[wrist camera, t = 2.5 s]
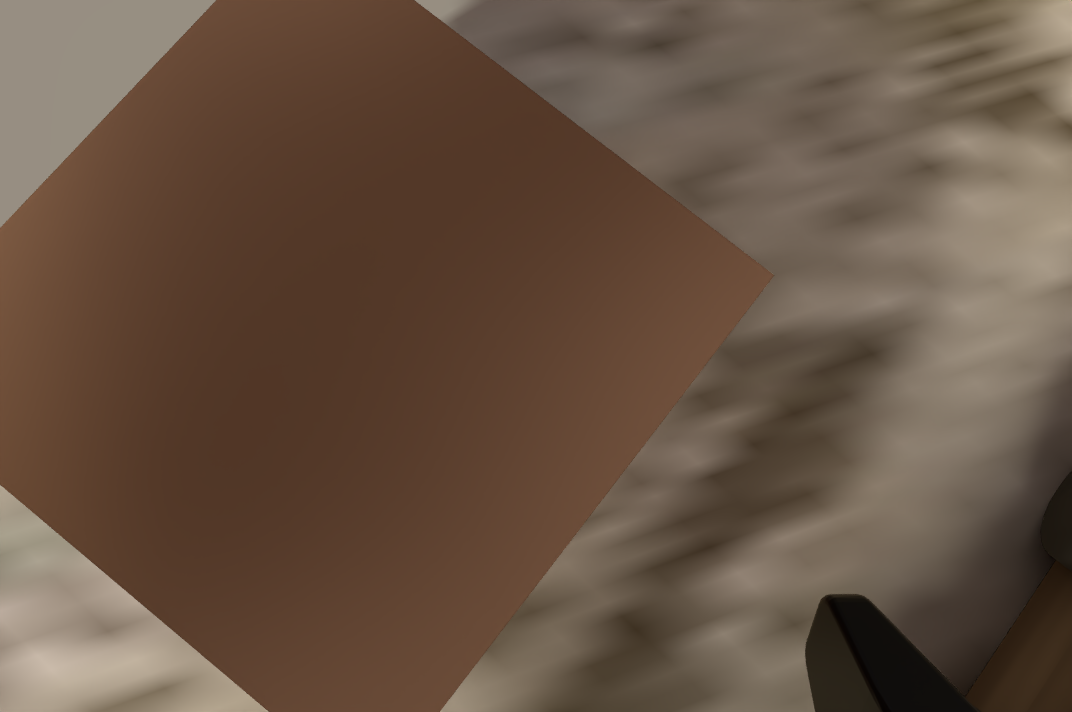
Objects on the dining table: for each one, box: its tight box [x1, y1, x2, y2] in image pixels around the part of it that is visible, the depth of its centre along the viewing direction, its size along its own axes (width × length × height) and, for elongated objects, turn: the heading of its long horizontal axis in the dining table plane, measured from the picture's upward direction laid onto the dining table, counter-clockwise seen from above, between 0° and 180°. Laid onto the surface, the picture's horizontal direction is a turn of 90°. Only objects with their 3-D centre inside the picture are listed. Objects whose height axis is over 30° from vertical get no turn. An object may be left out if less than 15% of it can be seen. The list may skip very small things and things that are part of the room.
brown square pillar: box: [0, 0, 774, 712], centre depth 13 cm, size 4×4×13 cm
